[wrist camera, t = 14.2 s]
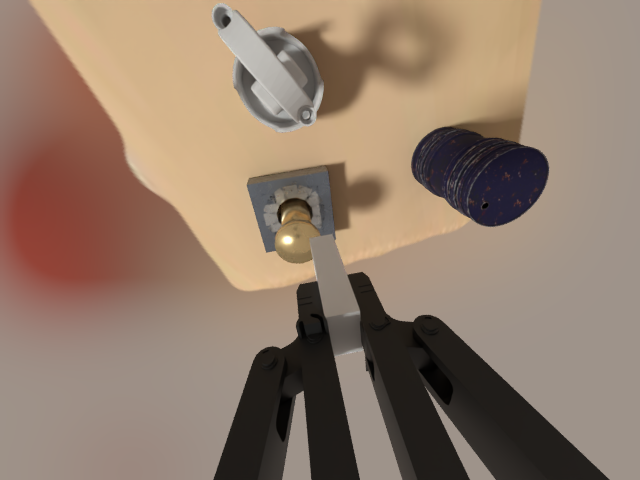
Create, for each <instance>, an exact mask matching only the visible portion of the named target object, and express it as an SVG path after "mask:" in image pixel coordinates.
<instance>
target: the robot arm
mask: <svg viewBox="0 0 640 480" xmlns="http://www.w3.org/2000/svg"><path fill="white" fill-rule="evenodd" d="M309 240H310V246H311V252H312V257H313V263H314V269H315V274H316V279H317V281H315V282H310V283H305V284H300V285H299V287H298V289H297V302H298V314H299V319H298V321H297V323H296V329H297V332H298V337H297V338H296V340H295V341H294V342H292V343H291V344H289V345H288V346H286V347H284V348H282V349H280V348H278V347H273V346H272V347H267V348H265V349H263V350H261V351H260V352H259V353H258V354H257V355H256V357H255V359H254V361H253V364H252V366H251V370H250V372H249V375H248V378H247V381H246V384H245V388H244V390H243V393H242V396H241V399H240V402H239V405H238V408H237V411H236V414H235V417H234V420H233V423H232V426H231V429H230V432H229V435H228V438H227V441H226V444H225V447H224V450H223V453H222V456H221V459H220V462H219V465H218V468H217V471H216V474H215V477H214V480H282V476H283V471H284V465H285V458H286V452H287V446H288V440H289V435H290V429H291V423H292V416H293V411H294V405H295V399H296V395H297V394H298V393H300V392H302V391H304V398H305V409H306V422H307V433H308V444H309V455H310V468H311V479H312V480H360V478H359V473H358V468H357V463H356V459H355V454H354V449H353V444H352V440H351V435H350V430H349V425H348V420H347V416H346V411H345V406H344V401H343V396H342V392H341V387H340V382H339V377H338V373H337V368H336V363H335V358H334V356H339V355H343V354H348V353H353V352H358V351H362V350H363V349H364V352H365V361H366V371H369V374H370V377H371V380H372V383H373V387H374V390H375V393H376V396H377V399H378V402H379V406H380V409H381V412H382V415H383V418H384V422H385V425H386V428H387V431H388V434H389V438H390V441H391V444H392V447H393V451H394V453H395V457H396V460H397V463H398V467H399V470H400V473H401V476H402V479H403V480H470V479H469V477H468V475H467V473H466V471H465V469H464V467H463V464H462V462H461V460H460V458H459V456H458V454H457V452H456V450H455V448H454V446H453V444H452V442H451V440H450V438H449V435H448V434H447V432H446V429H445V427H444V425H443V423H442V421H441V419H440V417H439V415H438V413H437V411H436V408H435V406H434V404H433V402H432V400H431V398H430V396H429V394H428V392H427V390H428V391H429V392H430V393H431V395H432V396H433V397H434V399H435V400H436V401H437V403H438V404H439V405H440V407H441V408H442V409H443V411H444V412H445V413H446V414H447V416H448V417H449V418H450V420H451V421H452V422H453V424H454V425H455V426H456V428H457V429H458V430H459V431H460V433H461V434H462V435H463V437H464V438H465V440H466V441H467V442H468V444H469V445H470V446H471V447H472V449H473V450H474V451H475V453H476V454H477V455H478V457H479V458H480V459H481V461H482V462H483V463H484V465H485V466H486V467H487V469H488V470H489V471H490V472H491V474H492V475H493V476H494V478H495V479H496V480H609V479H608V478H607V477H606V476H605V475H604V474H603V473H602V472H601V471H600V470H599V469H598V468H597V467H596V466H595V465H593V464H592V463H591V462H590V461H589V460H588V459H587V458H586V457H585V456H584V455H583V454H582V453H581V452H580V451H579V450H578V449H577V448H576V447H574V446H573V445H572V444H571V443H570V442H569V441H568V440H567V439H566V438H565V437H564V436H563V435H562V434H561V433H560V432H559V431H558V430H557V429H555V428H554V427H553V426H552V425H551V424H550V423H549V422H548V421H547V420H546V419H545V418H544V417H543V416H542V415H541V414H540V413H539V412H537V411H536V409H534V408H533V407H532V406H531V405H530V404H529V403H528V402H527V401H526V400H525V399H524V398H523V397H522V396H521V395H520V394H519V393H518V392H517V391H515V390H514V389H513V388H512V387H511V386H510V385H509V384H508V383H507V382H506V381H505V380H504V379H503V378H502V377H501V376H500V375H498V373H497V372H495V371H494V370H493V369H492V368H491V367H490V366H489V365H488V364H487V363H486V362H485V361H484V360H483V359H482V358H481V357H480V356H479V355H478V354H476V353H475V352H474V351H473V350H472V349H471V348H470V347H469V346H468V345H467V344H466V343H465V342H464V341H463V340H462V339H461V338H460V337H459V336H457V335H456V334H455V333H454V332H453V331H452V330H451V329H450V328H449V327H448V326H447V325H446V324H445V323H444V322H443V321H441V320H440V319H439V318H437V317H434V316H431V315H421V316H418V317H417V318H416V319H415V320H414V322H405V321H398V320H395V319H393V318H391V317H390V316H389V315H387V314H386V312H385V311H384V309H383V306H382V304H381V302H380V300H379V298H378V296H377V294H376V292H375V290H374V287H373V285H372V283H371V281H370V279H369V277H368V276H367V275H365V274H364V273H363V272H360V273H354V274H349V275H347V273H346V271H345V268H344V265H343V262H342V259H341V257H340V254H339V251H338V248H337V246H336V243H335V240H334V237H333V235H332V234H329V235H324V236H318V237H313V238H309ZM362 346H363V348H362ZM425 387H426V388H427V390H426V388H425Z"/></svg>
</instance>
